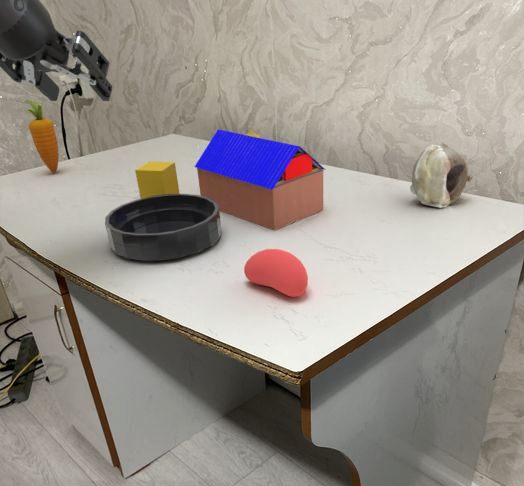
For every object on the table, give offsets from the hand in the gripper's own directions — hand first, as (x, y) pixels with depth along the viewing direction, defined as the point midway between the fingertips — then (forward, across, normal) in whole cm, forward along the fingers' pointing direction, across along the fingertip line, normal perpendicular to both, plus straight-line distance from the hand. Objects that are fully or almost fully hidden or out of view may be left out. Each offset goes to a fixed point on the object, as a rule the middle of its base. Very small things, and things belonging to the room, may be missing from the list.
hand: (81, 95), depth 75 cm
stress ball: (+6, -31, +23) cm, 40 cm away
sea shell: (+31, -49, -2) cm, 58 cm away
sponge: (+23, -3, +7) cm, 24 cm away
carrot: (+37, +33, -6) cm, 50 cm away
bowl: (+15, -10, +15) cm, 23 cm away
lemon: (+40, -12, -10) cm, 43 cm away
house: (+26, -20, +3) cm, 33 cm away
